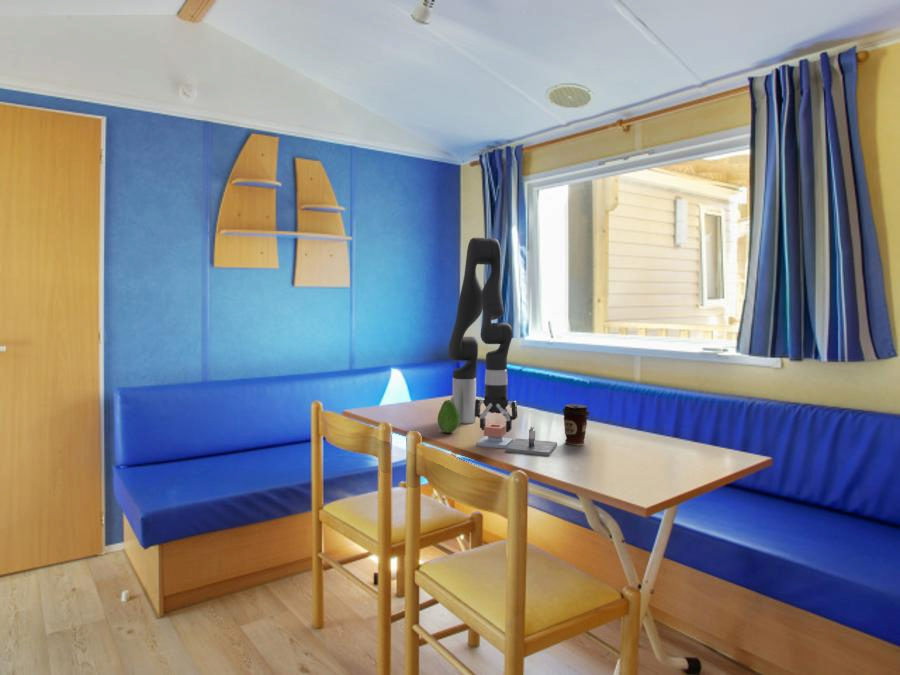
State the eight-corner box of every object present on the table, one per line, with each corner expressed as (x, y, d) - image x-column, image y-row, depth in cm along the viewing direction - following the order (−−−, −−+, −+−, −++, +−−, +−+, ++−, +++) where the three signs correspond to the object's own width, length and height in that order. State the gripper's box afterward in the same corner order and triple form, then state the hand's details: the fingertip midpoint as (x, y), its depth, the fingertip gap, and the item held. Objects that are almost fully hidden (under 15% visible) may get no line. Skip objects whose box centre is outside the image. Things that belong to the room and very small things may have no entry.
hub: (505, 451, 196) (505, 429, 195) (516, 441, 209) (516, 420, 208) (548, 456, 191) (549, 433, 191) (557, 445, 204) (557, 424, 204)
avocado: (442, 435, 217) (442, 402, 216) (434, 431, 224) (434, 398, 223) (463, 434, 220) (463, 400, 219) (454, 429, 227) (455, 397, 226)
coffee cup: (572, 447, 201) (573, 408, 200) (556, 442, 209) (557, 404, 208) (592, 445, 205) (593, 406, 204) (576, 439, 213) (577, 402, 212)
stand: (476, 445, 203) (476, 429, 203) (485, 438, 213) (485, 423, 212) (505, 448, 200) (505, 431, 200) (513, 441, 209) (513, 425, 209)
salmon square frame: (484, 435, 204) (484, 427, 204) (489, 432, 210) (489, 423, 210) (501, 437, 202) (501, 428, 202) (506, 433, 208) (506, 424, 208)
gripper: (472, 383, 204) (471, 431, 205) (514, 385, 199) (513, 434, 200) (479, 380, 211) (478, 426, 212) (519, 382, 206) (519, 430, 207)
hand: (495, 430), depth 206 cm, fingers open, 8 cm apart
